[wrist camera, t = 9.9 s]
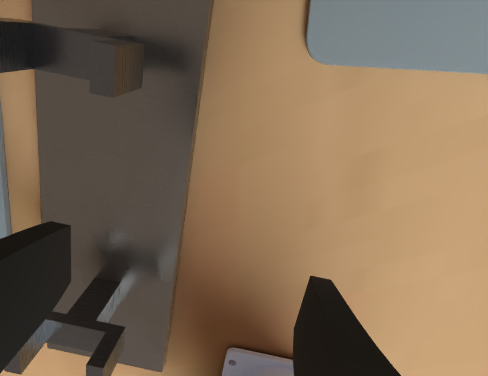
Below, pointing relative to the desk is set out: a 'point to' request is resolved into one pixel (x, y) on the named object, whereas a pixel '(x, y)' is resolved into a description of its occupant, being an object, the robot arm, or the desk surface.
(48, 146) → the hook rack
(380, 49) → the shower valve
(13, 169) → the desk surface
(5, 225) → the mat
